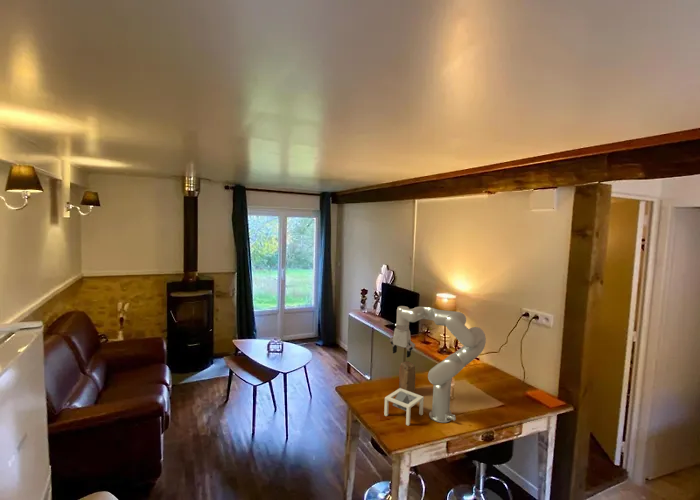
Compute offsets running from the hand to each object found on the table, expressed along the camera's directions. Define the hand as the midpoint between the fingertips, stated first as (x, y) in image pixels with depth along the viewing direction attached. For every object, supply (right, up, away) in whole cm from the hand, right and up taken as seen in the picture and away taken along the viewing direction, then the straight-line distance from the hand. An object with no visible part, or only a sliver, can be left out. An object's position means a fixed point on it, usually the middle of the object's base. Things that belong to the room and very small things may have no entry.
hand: (401, 354), depth 224 cm
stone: (-1, -24, -12) cm, 27 cm away
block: (+5, -29, +16) cm, 34 cm away
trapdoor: (0, -24, -11) cm, 26 cm away
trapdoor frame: (0, -31, -11) cm, 33 cm away
